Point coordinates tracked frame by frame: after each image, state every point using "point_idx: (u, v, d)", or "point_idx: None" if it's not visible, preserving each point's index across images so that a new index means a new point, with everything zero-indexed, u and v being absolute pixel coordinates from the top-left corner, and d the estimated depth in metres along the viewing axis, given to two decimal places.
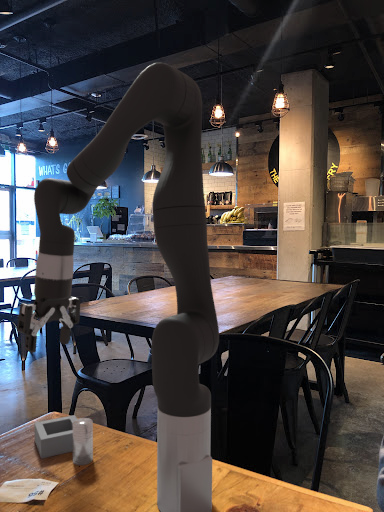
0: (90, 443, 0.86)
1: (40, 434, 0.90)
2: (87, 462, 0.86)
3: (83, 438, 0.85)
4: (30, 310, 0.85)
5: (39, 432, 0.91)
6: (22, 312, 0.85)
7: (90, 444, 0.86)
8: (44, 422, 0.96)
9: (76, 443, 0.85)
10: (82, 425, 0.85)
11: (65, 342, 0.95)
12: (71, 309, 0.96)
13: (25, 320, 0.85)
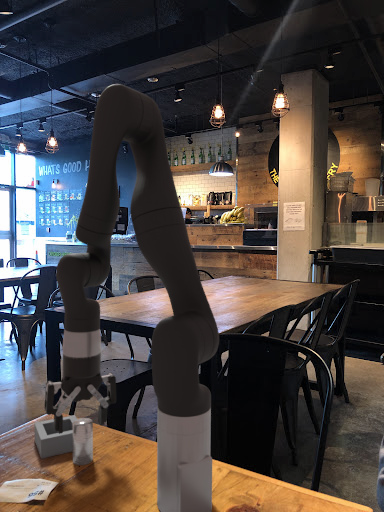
0: (90, 443, 0.86)
1: (40, 434, 0.90)
2: (87, 462, 0.86)
3: (83, 438, 0.85)
4: (52, 390, 0.83)
5: (39, 432, 0.91)
6: (46, 391, 0.84)
7: (90, 444, 0.86)
8: (44, 422, 0.96)
9: (76, 443, 0.85)
10: (82, 425, 0.85)
11: (100, 423, 0.88)
12: (108, 387, 0.90)
13: (47, 399, 0.83)
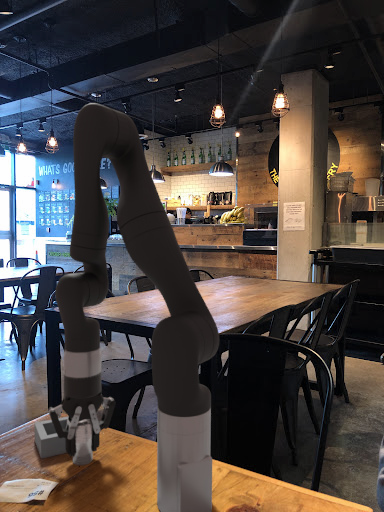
0: (90, 443, 0.86)
1: (40, 434, 0.90)
2: (87, 462, 0.86)
3: (83, 438, 0.85)
4: (54, 416, 0.83)
5: (39, 432, 0.91)
6: None
7: (90, 444, 0.86)
8: (44, 422, 0.96)
9: (76, 443, 0.85)
10: (82, 425, 0.85)
11: (93, 449, 0.88)
12: (105, 410, 0.90)
13: (54, 426, 0.83)
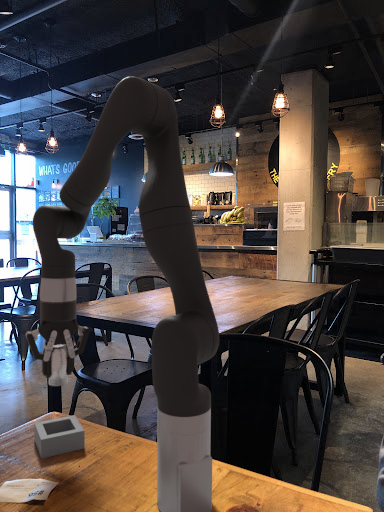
0: (65, 366, 0.92)
1: (40, 434, 0.90)
2: (62, 384, 0.92)
3: (58, 360, 0.91)
4: (31, 338, 0.89)
5: (39, 432, 0.91)
6: (27, 340, 0.90)
7: (65, 367, 0.92)
8: (44, 422, 0.96)
9: (52, 365, 0.91)
10: (57, 349, 0.91)
11: (68, 372, 0.93)
12: (80, 338, 0.95)
13: (30, 347, 0.89)
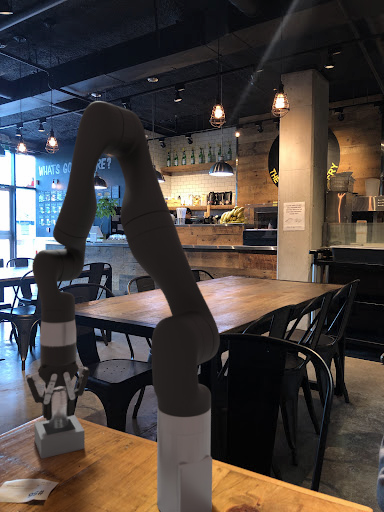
0: (65, 408, 0.93)
1: (40, 434, 0.90)
2: (62, 426, 0.92)
3: (58, 403, 0.92)
4: (31, 381, 0.89)
5: (39, 432, 0.91)
6: None
7: (65, 409, 0.93)
8: (44, 422, 0.96)
9: (52, 408, 0.92)
10: (58, 391, 0.92)
11: (68, 414, 0.94)
12: (80, 379, 0.96)
13: (31, 391, 0.90)
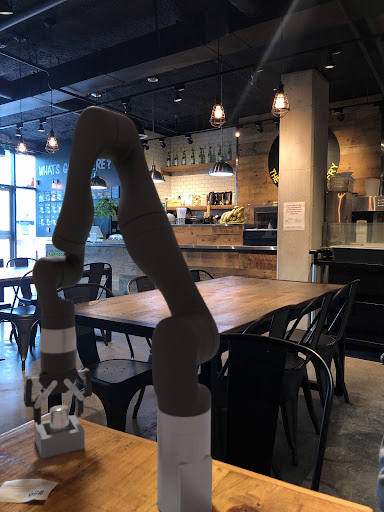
0: (66, 428, 0.93)
1: (40, 434, 0.90)
2: None
3: (59, 423, 0.92)
4: (30, 383, 0.89)
5: (39, 432, 0.91)
6: (25, 385, 0.90)
7: (66, 429, 0.93)
8: (44, 422, 0.96)
9: (53, 428, 0.92)
10: (58, 411, 0.92)
11: (77, 415, 0.95)
12: (84, 381, 0.96)
13: (25, 393, 0.89)
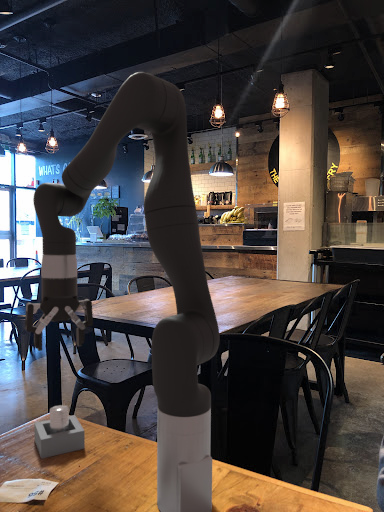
0: (66, 428, 0.93)
1: (40, 434, 0.90)
2: None
3: (59, 423, 0.92)
4: (31, 308, 0.90)
5: (39, 432, 0.91)
6: (26, 310, 0.91)
7: (66, 429, 0.93)
8: (44, 422, 0.96)
9: (53, 428, 0.92)
10: (58, 412, 0.92)
11: (78, 344, 0.95)
12: (85, 311, 0.97)
13: (26, 318, 0.89)
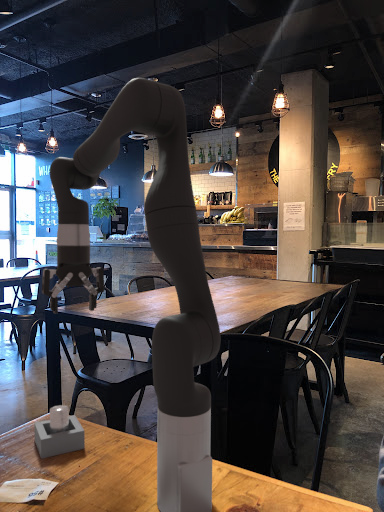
0: (66, 428, 0.93)
1: (40, 434, 0.90)
2: None
3: (59, 423, 0.92)
4: (48, 273, 0.97)
5: (39, 432, 0.91)
6: (43, 276, 0.98)
7: (66, 429, 0.93)
8: (44, 422, 0.96)
9: (53, 428, 0.92)
10: (58, 412, 0.92)
11: (91, 308, 1.02)
12: (97, 278, 1.04)
13: (43, 282, 0.97)
